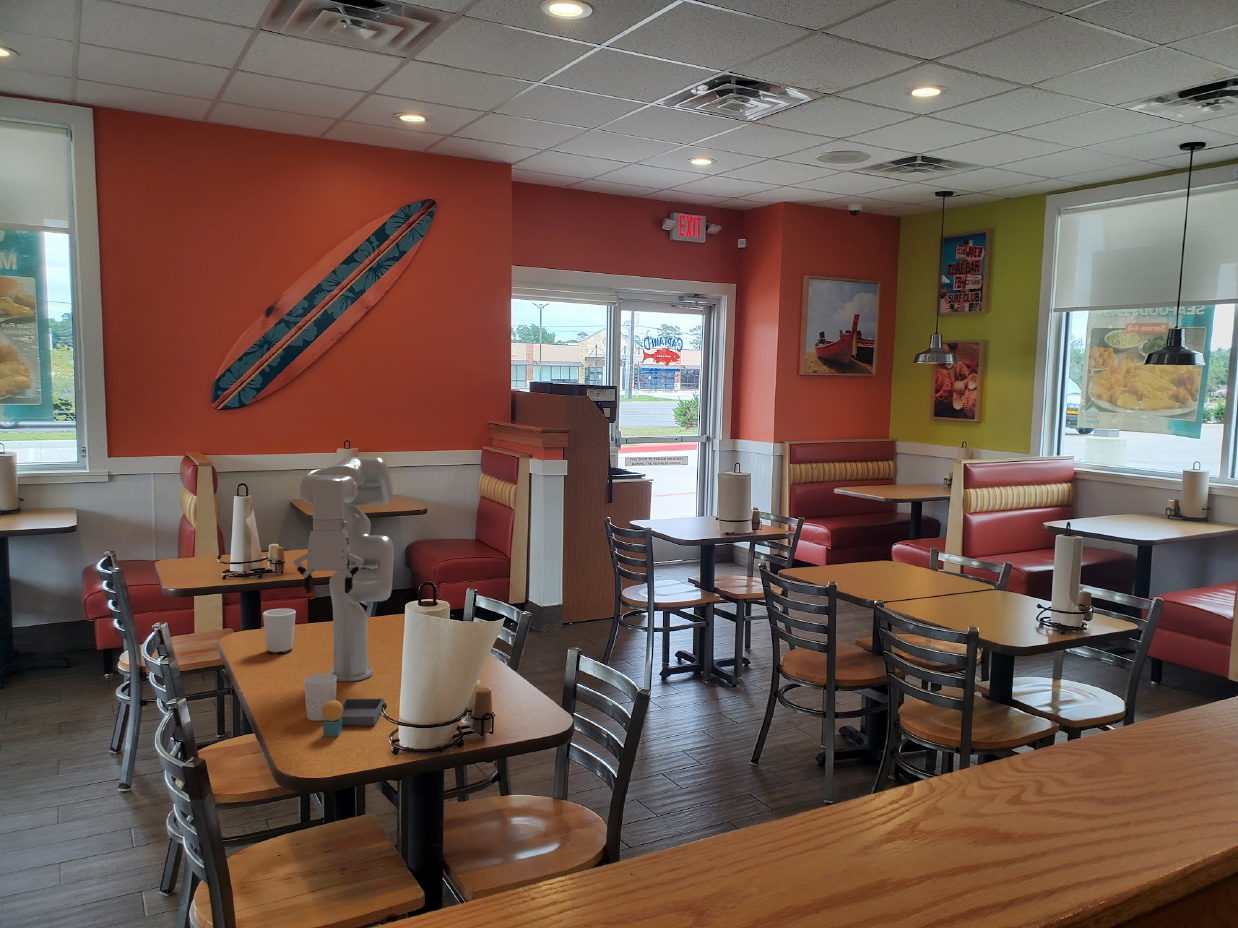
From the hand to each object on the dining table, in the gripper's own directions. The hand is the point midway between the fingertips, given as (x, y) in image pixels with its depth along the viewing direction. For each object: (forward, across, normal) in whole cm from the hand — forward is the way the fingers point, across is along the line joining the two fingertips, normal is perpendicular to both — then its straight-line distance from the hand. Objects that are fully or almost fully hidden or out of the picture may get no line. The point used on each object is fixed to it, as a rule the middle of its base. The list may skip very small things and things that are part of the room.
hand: (328, 592), depth 226 cm
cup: (+30, +30, -57) cm, 71 cm away
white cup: (+32, +2, +1) cm, 32 cm away
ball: (+27, -4, +13) cm, 30 cm away
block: (+32, -4, +12) cm, 35 cm away
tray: (+32, -8, +2) cm, 33 cm away
